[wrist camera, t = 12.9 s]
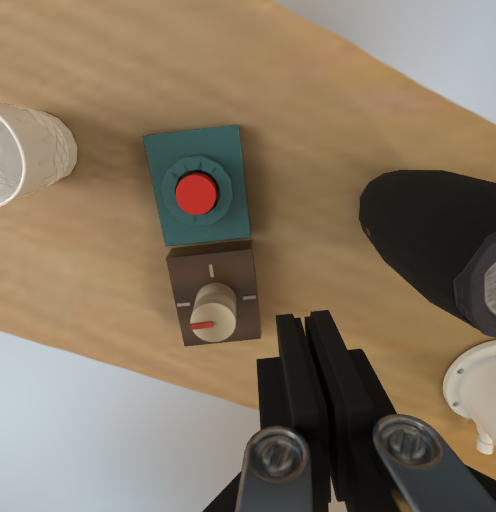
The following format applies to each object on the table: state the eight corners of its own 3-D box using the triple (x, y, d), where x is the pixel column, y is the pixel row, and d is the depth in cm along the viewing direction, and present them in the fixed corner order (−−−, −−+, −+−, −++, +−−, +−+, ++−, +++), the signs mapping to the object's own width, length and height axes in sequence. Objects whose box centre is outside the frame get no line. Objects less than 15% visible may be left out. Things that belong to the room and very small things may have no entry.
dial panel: (260, 324, 42) (262, 339, 39) (188, 331, 42) (184, 347, 39) (251, 239, 38) (252, 249, 35) (171, 248, 38) (165, 258, 35)
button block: (250, 231, 37) (251, 242, 34) (169, 239, 38) (161, 252, 34) (238, 124, 33) (238, 124, 30) (148, 135, 34) (136, 136, 30)
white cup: (-13, 116, 33) (-114, 112, 23) (63, 94, 32) (-10, 81, 23) (26, 195, 35) (-51, 220, 26) (97, 176, 35) (44, 194, 26)
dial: (233, 280, 36) (232, 301, 32) (239, 315, 38) (238, 341, 33) (192, 285, 36) (185, 307, 32) (200, 320, 38) (194, 346, 33)
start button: (219, 208, 33) (218, 212, 31) (182, 212, 33) (179, 217, 31) (214, 170, 31) (212, 172, 30) (175, 174, 32) (171, 177, 30)
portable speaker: (345, 244, 38) (440, 353, 20) (362, 158, 35) (495, 193, 17) (419, 250, 38) (580, 361, 20) (443, 165, 35) (661, 207, 17)
